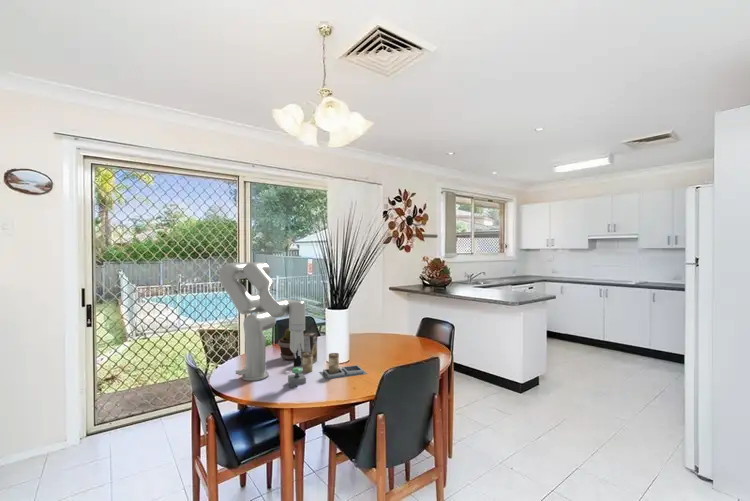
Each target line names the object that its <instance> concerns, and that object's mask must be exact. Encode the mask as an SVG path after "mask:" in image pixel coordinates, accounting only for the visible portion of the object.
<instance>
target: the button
mask: <svg viewBox="0 0 750 501" xmlns="http://www.w3.org/2000/svg"><path fill="white" fill-rule="evenodd" d="M291 373H292V374H294V375H295V377H296V378H297V377H299V374H302V373H303V372H302V367H300V366H298V367H293V368H292V369H291Z"/></svg>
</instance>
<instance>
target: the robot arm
mask: <svg viewBox="0 0 750 501" xmlns="http://www.w3.org/2000/svg"><path fill="white" fill-rule="evenodd" d="M219 270H220V271H219V276H218V278H219V282H220V284H221V286H222V288H223V289H224V290H225V292H226V293H227V294H228V295H229V297H230V300H231V302H232V303H233V305H234V306H235V308H236V310H237V312H238V313H239V314H241V315H247V316H246V317H245V318H244V320H243V330H244V335H245V336H244V337H245V342H244V343H245V366H244V368H242V369H238V370H235V375H237V376H241V378H242V380H243V381H248V382H250V381H251V382H253V381H254V382H255V381H261V380H265V379H267V378H268V377H269V375H270V372H268V371H267V370H266V349H267V348H266V337H265V334H264V333H263V332H264V331H266V330H269V329H273V327H274V326H276V324H277V318H280V317H283V316H288V329H289V331H291V332H290V350H291V351H292V352H293V353H294V361H293V368H296V367H301V366H302V365H301V352H303V351H304V331H306V302H305V301H304V300H294V299H289V298H285V299H281V300H276V299H275V298H274V297H273V296H272V294H271V292H270V291H271V289H272V288H273V286H274V280H273V279H272V278H271V277H270V275H271V268H270V266H269V265H268V263H266V262H262V261H259V262H258V261H257V262H251V261H250V262H230V263H226V264H224V265H222V266H221V267H220V269H219ZM242 279H243V280H244V279H247V280H248V281H249V283H250V284H251V285H252V286H253V288H255V290H257V293H253V294H250V293H249V292H248V291H247V289H246V286H245V285H243V283H241V282H240V281H239V280H242Z"/></svg>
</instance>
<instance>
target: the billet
mask: <svg viewBox="0 0 750 501" xmlns="http://www.w3.org/2000/svg"><path fill="white" fill-rule="evenodd" d="M302 357H303V362H302V365H301V366H302V367H301V368H302V372H301V373H303V374H304V373H305V374H307V373H312V372H313V364H312V353H303V354H302Z"/></svg>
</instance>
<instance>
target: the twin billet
mask: <svg viewBox="0 0 750 501" xmlns="http://www.w3.org/2000/svg"><path fill="white" fill-rule="evenodd" d="M339 357H340V354H339V353H338V352H330V353H329V354H328V369H329V374H334V373H339V368H340V366H339V365H340V363H339V362H340V358H339Z"/></svg>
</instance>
